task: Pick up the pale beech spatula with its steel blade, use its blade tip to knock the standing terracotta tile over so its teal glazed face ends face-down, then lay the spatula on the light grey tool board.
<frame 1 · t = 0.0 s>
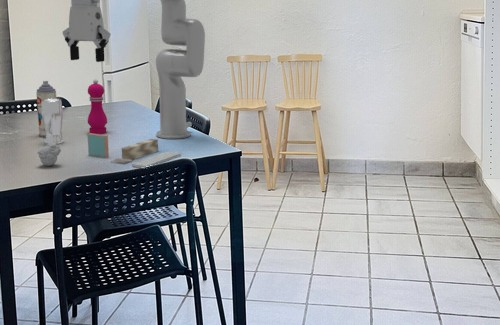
hand: (87, 60, 197), 31 cm above the table, tool pointing down, fingers open, 9 cm apart
beer glass: (54, 142, 231), on the table
tool board: (157, 160, 207), on the table
tile: (98, 155, 213), on the table
pepper mill: (98, 133, 248), on the table
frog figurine: (50, 166, 200), on the table
aerosol can: (49, 135, 243), on the table
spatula: (140, 155, 214), on the table
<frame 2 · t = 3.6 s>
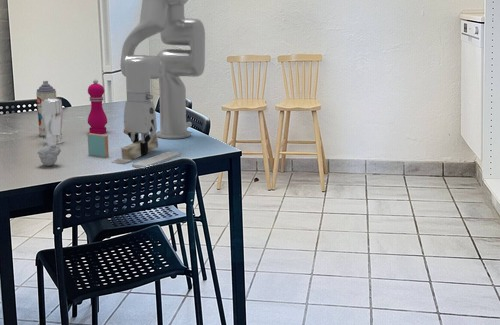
hand: (140, 153, 213), 1 cm above the table, tool pointing down, fingers closed on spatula, 2 cm apart
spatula: (140, 153, 213), on the table, touching gripper
everything else where it was.
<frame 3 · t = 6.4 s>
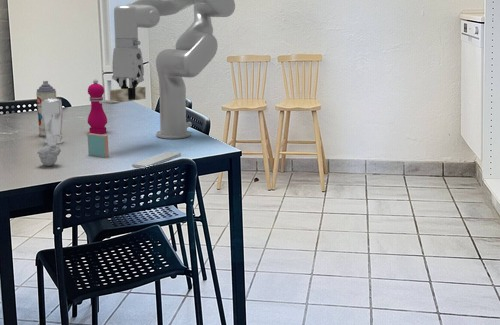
hand: (128, 98, 223), 16 cm above the table, tool pointing down, fingers closed on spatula
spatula: (128, 100, 223), point 16 cm above the table, touching gripper
everything else where it was.
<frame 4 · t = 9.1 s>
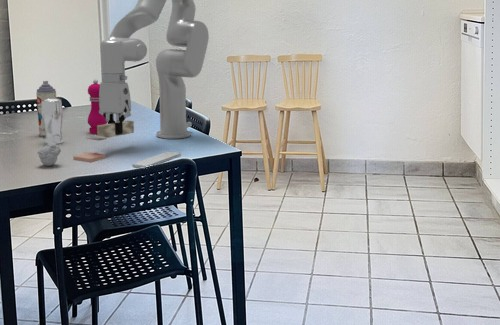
hand: (115, 133, 219), 6 cm above the table, tool pointing down, fingers closed on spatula
tile: (96, 155, 212), on the table, tilted 90°
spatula: (116, 135, 219), point 5 cm above the table, touching gripper
everything else where it was.
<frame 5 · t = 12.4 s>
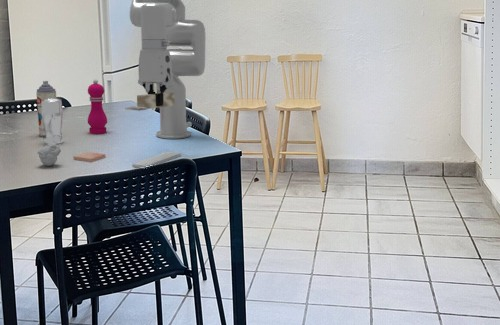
hand: (155, 105, 204), 17 cm above the table, tool pointing down, fingers closed on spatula
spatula: (156, 107, 204), point 17 cm above the table, touching gripper
everything else where it was.
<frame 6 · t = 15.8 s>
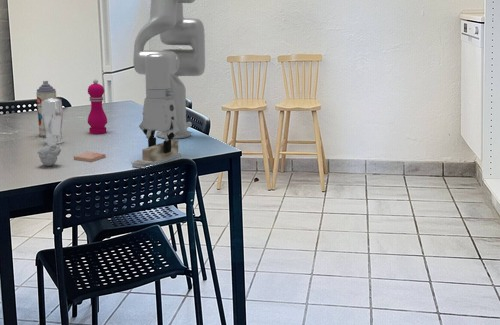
hand: (159, 150, 207), 3 cm above the table, tool pointing down, fingers open, 4 cm apart
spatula: (161, 157, 208), point 1 cm above the table, touching tool board
everything else where it was.
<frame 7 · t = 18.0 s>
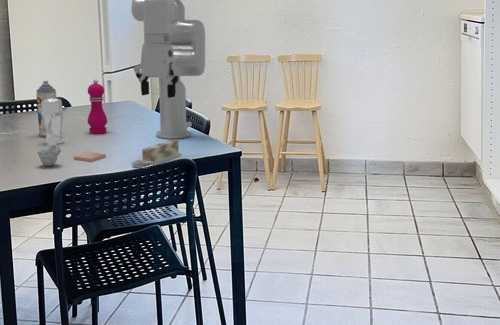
hand: (158, 95, 203), 20 cm above the table, tool pointing down, fingers open, 9 cm apart
nothing on the table moved.
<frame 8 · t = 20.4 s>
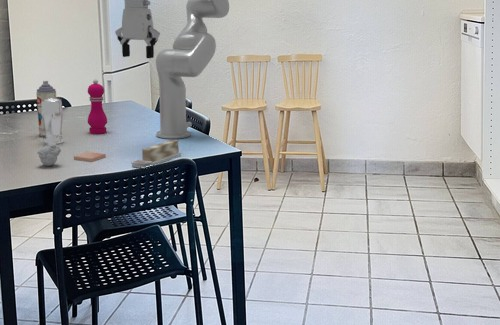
hand: (138, 57, 219), 30 cm above the table, tool pointing down, fingers open, 9 cm apart
nothing on the table moved.
at the end: tile tilted 90°; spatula inside the target area on the tool board (2.1 cm from its centre), point 0.8 cm above the tool board's base; the gripper is holding nothing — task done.
